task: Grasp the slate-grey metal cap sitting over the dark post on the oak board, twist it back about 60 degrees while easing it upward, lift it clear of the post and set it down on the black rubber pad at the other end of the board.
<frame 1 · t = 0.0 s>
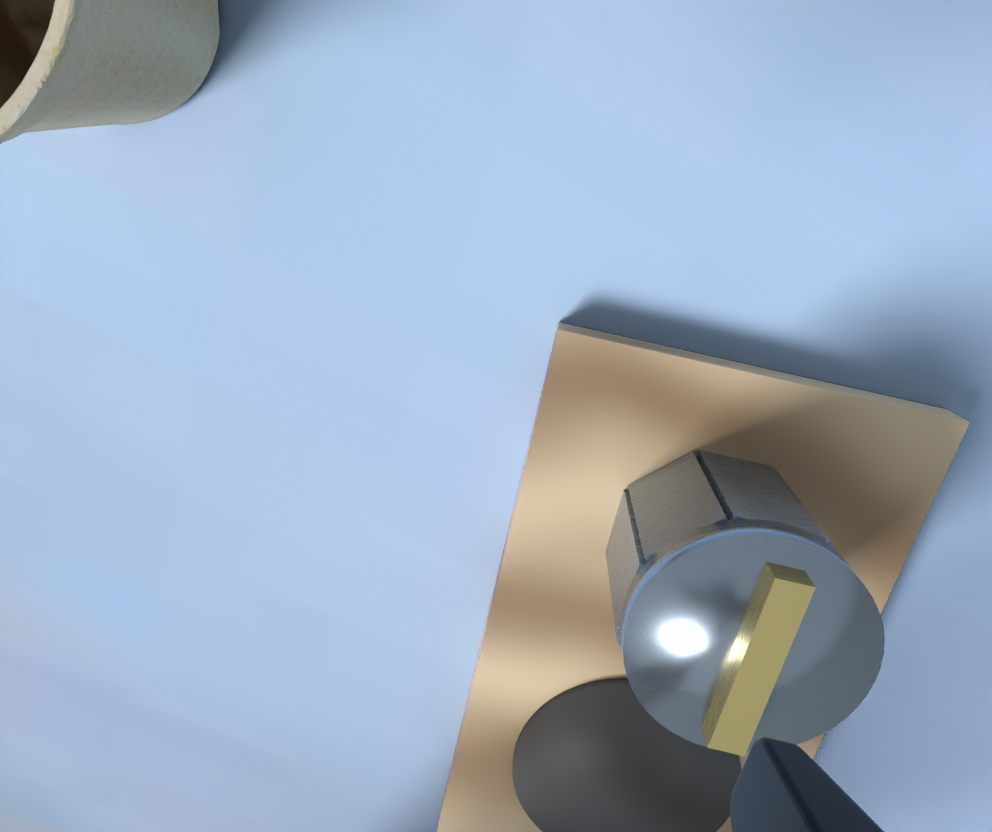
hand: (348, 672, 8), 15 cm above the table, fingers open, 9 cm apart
board: (659, 635, 24), on the table
cap: (705, 541, 21), point 1 cm above the table, touching board
flower pot: (125, 6, 19), on the table
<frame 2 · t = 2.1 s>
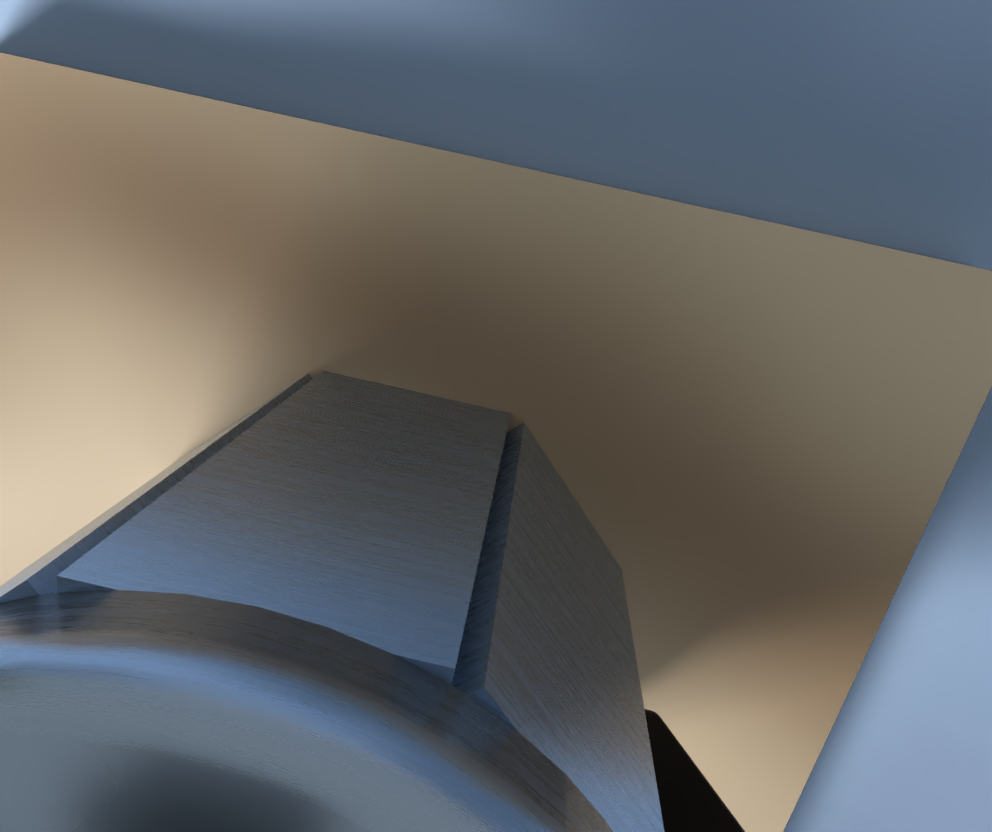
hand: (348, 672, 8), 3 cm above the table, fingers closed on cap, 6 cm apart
board: (357, 787, 11), on the table
cap: (379, 603, 9), point 1 cm above the table, touching board, gripper
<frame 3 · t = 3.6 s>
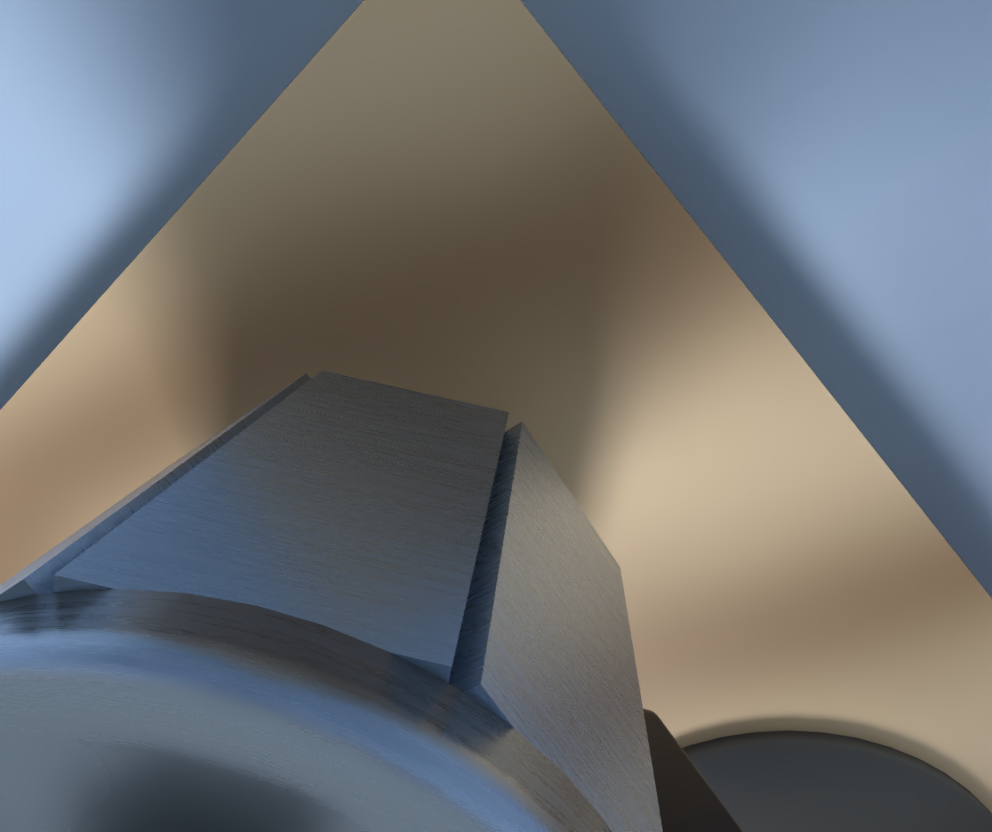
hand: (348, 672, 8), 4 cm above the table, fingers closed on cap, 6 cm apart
board: (592, 681, 12), on the table
cap: (378, 602, 9), point 3 cm above the table, touching gripper
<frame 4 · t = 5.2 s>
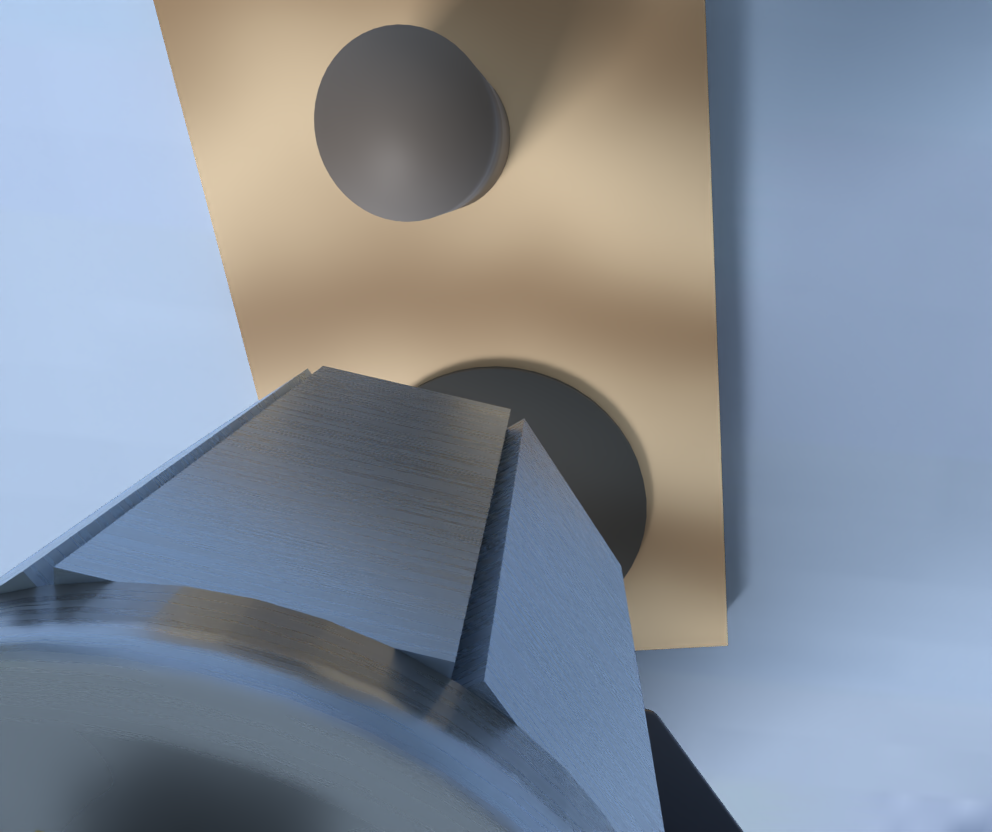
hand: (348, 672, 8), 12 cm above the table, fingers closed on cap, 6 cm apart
board: (476, 319, 18), on the table
cap: (378, 599, 9), point 11 cm above the table, touching gripper
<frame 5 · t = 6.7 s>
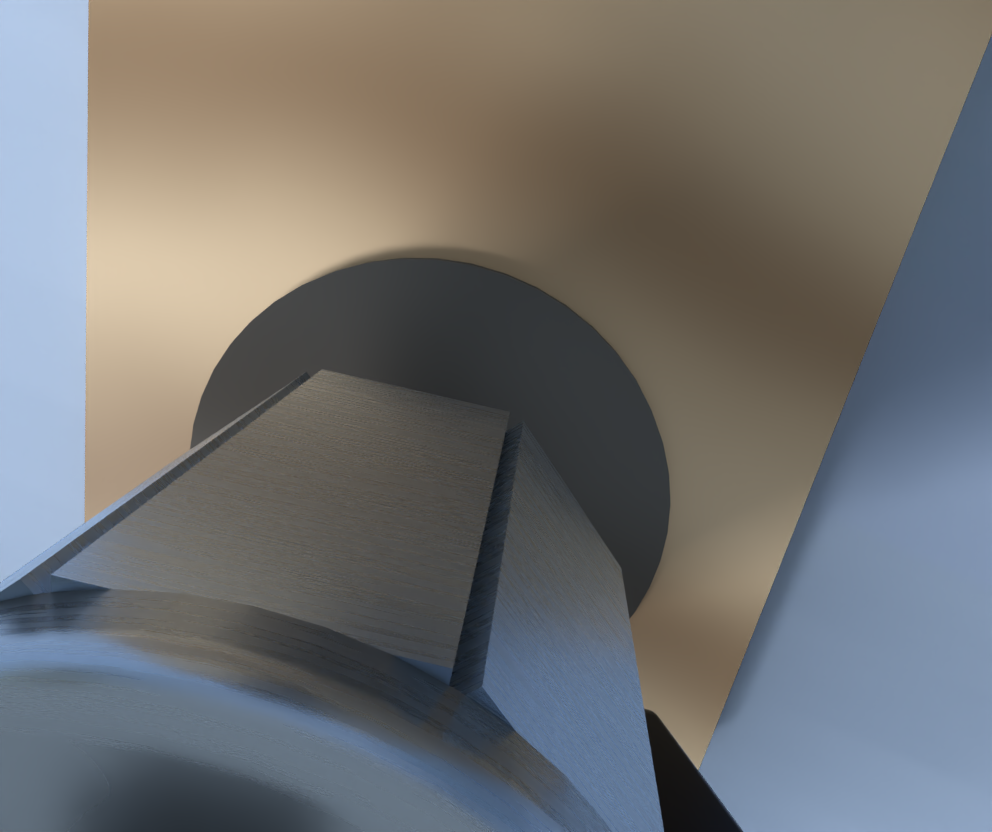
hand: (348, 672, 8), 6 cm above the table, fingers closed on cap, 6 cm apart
board: (493, 194, 11), on the table
cap: (378, 603, 9), point 4 cm above the table, touching gripper
when the fingers open (4 cm above the table, at t = 7.8 s): cap drops 1 cm, resting on board.
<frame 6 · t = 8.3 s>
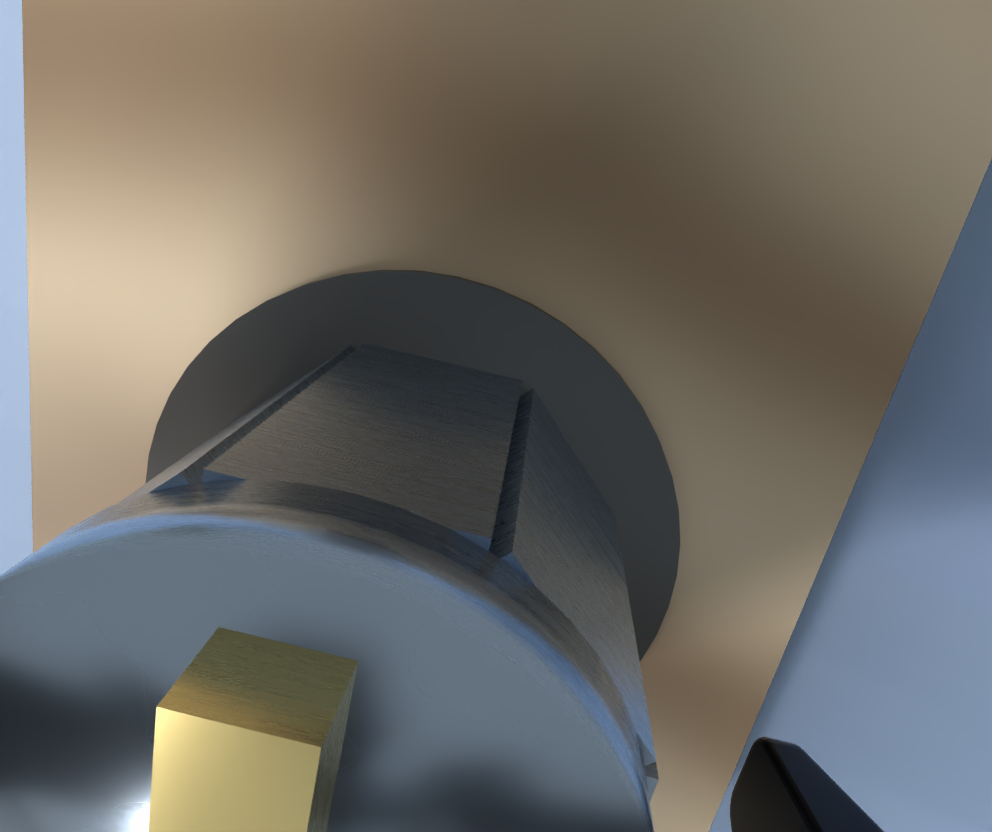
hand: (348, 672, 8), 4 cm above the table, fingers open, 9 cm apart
board: (482, 198, 10), on the table
cap: (406, 546, 10), point 1 cm above the table, touching board
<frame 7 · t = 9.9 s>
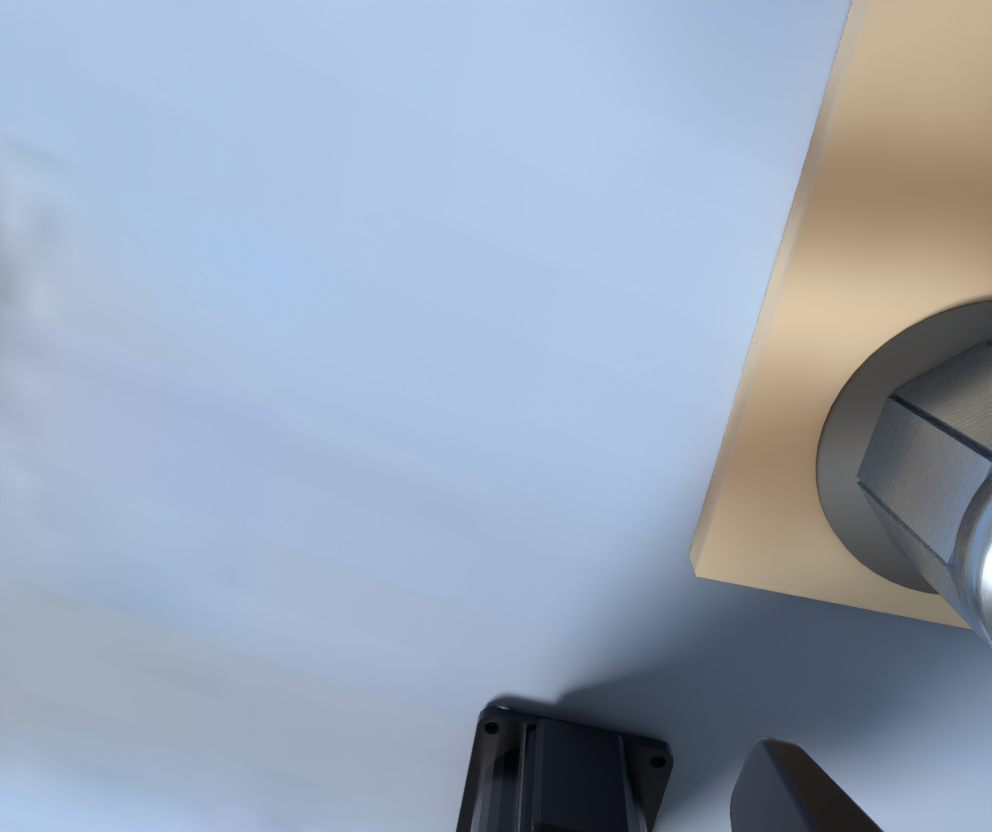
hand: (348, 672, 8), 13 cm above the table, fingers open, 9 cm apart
cap: (985, 459, 17), point 1 cm above the table, touching board
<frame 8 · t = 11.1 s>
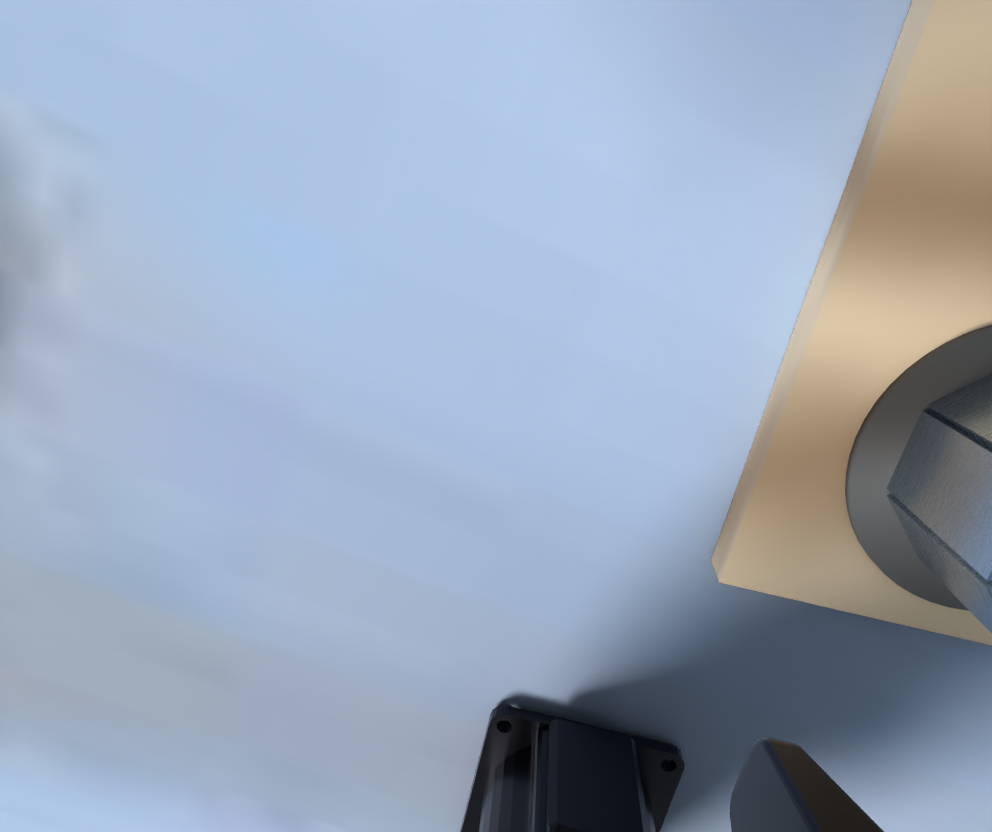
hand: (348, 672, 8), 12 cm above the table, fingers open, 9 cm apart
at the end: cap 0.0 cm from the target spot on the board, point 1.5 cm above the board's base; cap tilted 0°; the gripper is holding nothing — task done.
